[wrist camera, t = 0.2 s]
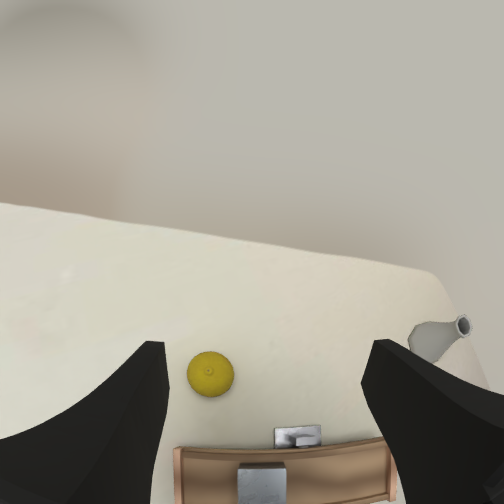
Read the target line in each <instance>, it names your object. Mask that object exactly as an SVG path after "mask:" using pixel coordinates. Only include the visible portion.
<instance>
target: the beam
mask: <svg viewBox="0 0 504 504" xmlns="http://www.w3.org/2000/svg"><path fill="white" fill-rule="evenodd" d="M263 462H284V464H285V466H286V504H370V503H374V502H379V501H383V500H388V501H389V502H391V501H395V500H396V486H397V467H396V464H395V461H394V458H393V456H392V454H391V451H390V449H389V447H388V445H387V443H386V441H385V439H384V437H383V436H382V437H377V438H372V439H367V440H361V441H355V442H348V443H341V444H333V445H325V446H315V447H309V446H308V445H304V446H299V448H290V449H268V450H229V449H207V448H193V447H182V446H179V447H176V448H174V449H173V463H174V495H175V504H238V471H237V469H238V467H239V464H240V463H263Z"/></svg>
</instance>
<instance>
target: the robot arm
mask: <svg viewBox="0 0 504 504" xmlns="http://www.w3.org/2000/svg"><path fill="white" fill-rule="evenodd" d="M361 386H362V389H363V392H364V396H365V398H366V401H367V404H368V407H369V409H370V411H371V413H372V415H373V417H374V419H375V421H376V423H377V425H378V427H379V429H380V431H381V433H382V435H383V437H384V439H385V441H386V443H387V445H388V447H389V449H390V451H391V454H392V456H393V458H394V461H395V464H396V467H397V471H398V474H399V477H400V480H401V484H402V488H403V492H404V496H405V500H406V504H504V395H501V394H498V393H494V392H491V391H488V390H485V389H483V388H480V387H478V386H475V385H473V384H470V383H468V382H466V381H463V380H461V379H459V378H457V377H455V376H453V375H451V374H449V373H448V372H446V371H444V370H442V369H440V368H438V367H437V366H435V365H433V364H431V363H430V362H428V361H426V360H425V359H423V358H421V357H420V356H418V355H416V354H415V353H413V352H411V351H410V350H408V349H406V348H405V347H403V346H401V345H400V344H398V343H396V342H394V341H392V340H390V339H382V340H374V343H373V346H372V350H371V353H370V356H369V359H368V363H367V366H366V369H365V372H364V375H363V378H362V381H361ZM169 389H170V386H169V379H168V371H167V363H166V354H165V345H164V342H156V341H146V342H144V343H143V344H142V345H141V346H140V347H139V348H138V349H137V350H136V351H135V352H134V353H133V354H132V355H131V356H130V357H129V358H128V359H127V360H126V361H125V362H124V363H123V364H122V365H121V366H120V367H119V368H118V369H117V370H116V371H115V372H114V373H113V374H112V375H111V376H110V377H109V378H108V379H106V380H105V381H104V382H103V383H102V384H101V385H99V386H98V387H97V388H96V389H95V390H94V391H92V392H91V393H90V394H89V395H87V396H86V397H85V398H83V399H82V400H80V401H79V402H78V403H76V404H75V405H73V406H72V407H70V408H69V409H67V410H65V411H64V412H62V413H60V414H58V415H56V416H55V417H53V418H51V419H49V420H47V421H45V422H44V423H42V424H40V425H37V426H35V427H33V428H31V429H28V430H26V431H23V432H21V433H18V434H16V435H13V436H10V437H7V438H3V439H0V504H150V496H151V485H152V475H153V469H154V464H155V460H156V455H157V451H158V447H159V443H160V439H161V435H162V430H163V426H164V422H165V418H166V414H167V407H168V398H169Z"/></svg>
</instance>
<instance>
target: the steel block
mask: <svg viewBox="0 0 504 504" xmlns="http://www.w3.org/2000/svg"><path fill="white" fill-rule="evenodd" d="M237 471H238V504H286V466H285V464H284V462H263V463H240V464H239V467H238V469H237Z"/></svg>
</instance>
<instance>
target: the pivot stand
mask: <svg viewBox="0 0 504 504" xmlns="http://www.w3.org/2000/svg"><path fill="white" fill-rule="evenodd" d="M304 445H308V446H309V447H315V446H321V425H314V426H303V427H289V428H274V449H290V448H299V446H304Z"/></svg>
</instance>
